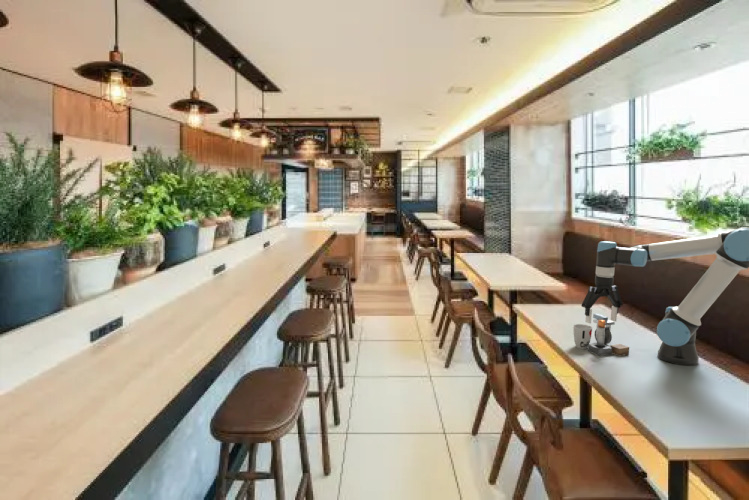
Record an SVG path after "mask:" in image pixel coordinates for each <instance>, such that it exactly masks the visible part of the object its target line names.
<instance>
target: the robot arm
mask: <svg viewBox="0 0 749 500" xmlns="http://www.w3.org/2000/svg"><path fill="white" fill-rule="evenodd" d="M596 249H597V250H596V264H595V277H594V285H595V286H589V287H588V291H587V293H586V295H585V296H584V299H583V301H582V303H581V307H582V308H584V315H585V323H586V324H587V323H588V324H592V318H593V316H592V315H593V308H592V307H593V306H594V305H595V304H596V302H597V300H599V299H600V298H601V297H607V298H608V300H609V302H611V304H612V306H611V310H610V311H611V312H610V321H613V322H617V319H618V318H617V315H618V314H619V308H621V307H622V306H623V305H624V303H623V301H622V298H621V294H620V292H619V286H618V285H615V284H614V280H615V277H614V276H615V266H616V265H621V266H622V265H623V266H629V267H630V266H631V267H635V268H636V267H641V268H642V267H645V266H646V264H647V262H651V261H653V262H654V261H661V260H670V259H678V258H679V259H680V258H688V257H690V258H691V257H698V256H706V255H708V256H709V255H715V256H716V258H715V260H714V261H713V262H712V263H711V265H710V266H709V267H708V269H706V271H705V273H704V274H702V276H701V277H700V278H699V280H698V281H697V283H696V284H695V285H694V286H693V287H692V288H691V290H690V291H689V292H688V293H687V295H686V296H685V297H684V299H683V300H682V301H681V302H680V304H679V305H678V306H677V305H676V306H668V307H666V308H665V311H664V312H665V316H664V317H663V318H662V319H661V320H660V321H659V322H658V324H657V327H656V334H657V337H658V339H660V340H661V344H660V346H659V348H658V350H657V357H658V358H659V359H660V360H661V361H664V362H667V363H671V364H675V365H681V366H696V365H698V364H699V355H698V352H697V348H696V338H697V337H696V336H697V330H698V329H699V328H700V326H702V322H701V318H702V317H703V316H704V315H705V314H706V312H708V310H709V309H710V308H711V306H712V305H713V304H714V303H715V302H716V301H717V299H718V298H719V297H720V296H721V294H722V293H723V292H724V291H725V290H726V288H727V287H728V285H730V284H731V282H732V281H733V280H734V278H735V277H736V276H737V275H738V274H739V272H741V271H744V270H748V269H749V226H741V227H738V228H735V229H731V230H726V231H725V230H724V231H720V232H719V233H718V234H716V235H709V236H708V235H707V236H700V237H691V238H686V239H684V238H683V239H677V240H670V241H662V242H655V243H647V244H646V243H645V244H636V245H634V246H632V247H621V246H618V245H617V242H615V241H609V240H608V241H607V240H604V241H599V242H598V243H597V248H596Z"/></svg>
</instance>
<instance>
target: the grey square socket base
mask: <svg viewBox="0 0 749 500" xmlns="http://www.w3.org/2000/svg"><path fill="white" fill-rule="evenodd" d="M587 351H588V352H590V353H592V354H594V355H596V356H598V357H600V356H608V355H613V353H612V348H611V347H610V346H608V344H604V348H598V347H597V343H589V344H588V348H587Z"/></svg>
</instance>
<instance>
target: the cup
mask: <svg viewBox="0 0 749 500" xmlns="http://www.w3.org/2000/svg"><path fill="white" fill-rule="evenodd" d="M592 333H593V327H592V326H591V325H588V324H581V323H579V324H578V323H577V324H573V340H574V341H573V342H574V344H575V348H577V349H579V350H580V349H581V350H585V349H587V350H588V344H591V343H590V342H591V338H592Z"/></svg>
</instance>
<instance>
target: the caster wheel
mask: <svg viewBox="0 0 749 500" xmlns="http://www.w3.org/2000/svg"><path fill="white" fill-rule="evenodd" d="M592 315H593V316H592V318H593V323H595V324H596V328H595V331H594V339H595V341H596V342H597V331H598V320H605V336H604V345H609V344H611V342H612V340H613V339H612V338H613V336H612V332H611V326H614V325H615V324H616V323H615V321H612V320H611V319H609V317H608V316H605V315H602V314H600V313H592Z"/></svg>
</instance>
